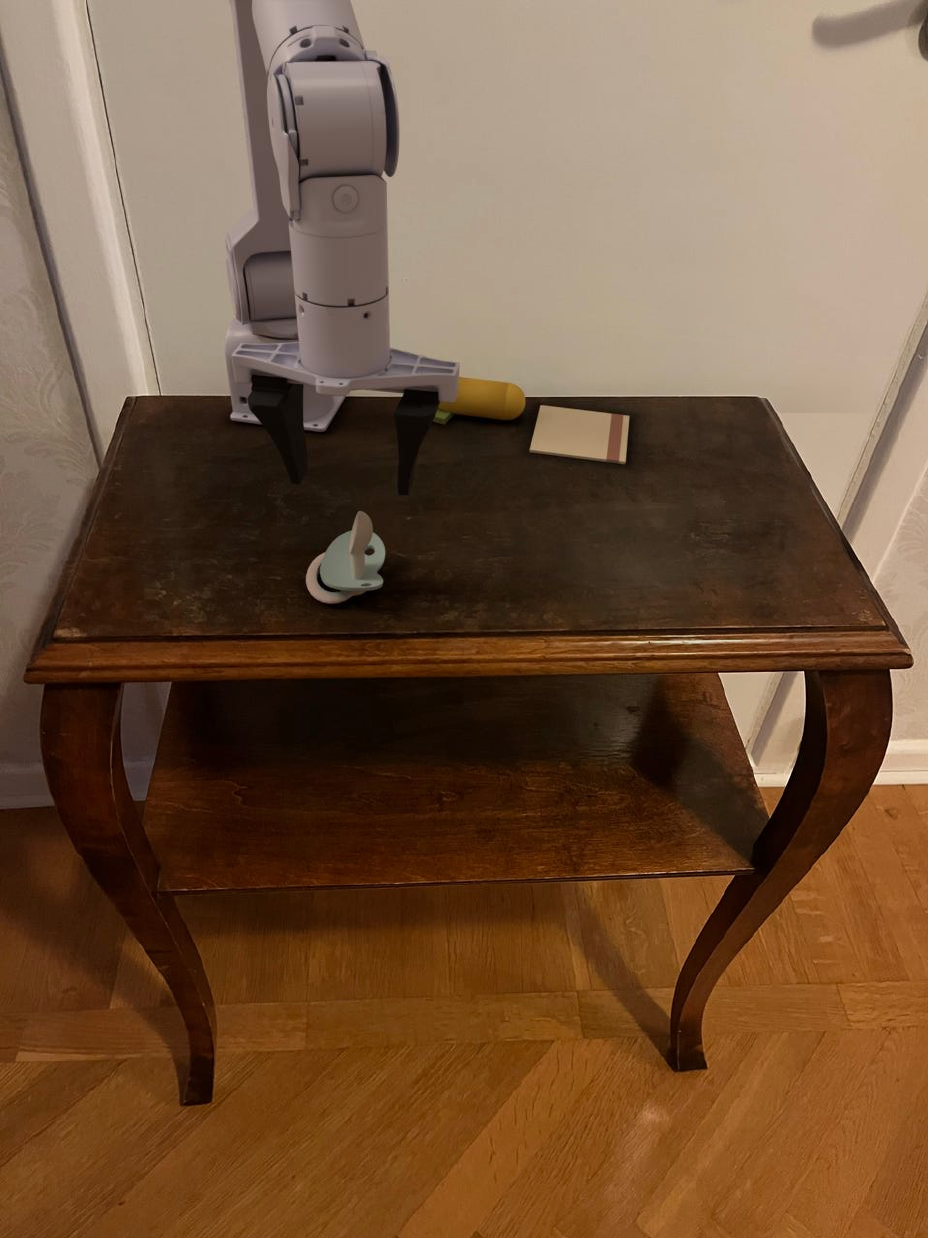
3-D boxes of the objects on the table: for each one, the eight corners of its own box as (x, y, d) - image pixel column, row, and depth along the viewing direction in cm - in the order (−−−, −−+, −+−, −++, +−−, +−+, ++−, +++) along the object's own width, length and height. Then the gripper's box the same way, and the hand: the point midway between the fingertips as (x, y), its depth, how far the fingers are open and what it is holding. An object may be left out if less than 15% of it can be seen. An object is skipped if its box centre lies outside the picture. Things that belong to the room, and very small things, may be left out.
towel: (529, 452, 85) (529, 449, 85) (540, 407, 92) (540, 404, 92) (625, 464, 84) (625, 461, 84) (629, 418, 91) (629, 415, 91)
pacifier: (301, 613, 67) (383, 612, 67) (291, 544, 63) (378, 544, 63) (312, 553, 72) (387, 552, 72) (303, 486, 68) (383, 486, 68)
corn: (409, 420, 89) (409, 386, 86) (422, 393, 93) (422, 360, 91) (520, 434, 88) (523, 400, 85) (527, 406, 92) (530, 373, 90)
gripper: (203, 303, 53) (234, 502, 61) (449, 325, 51) (445, 524, 60) (242, 263, 58) (265, 451, 67) (466, 281, 57) (460, 470, 66)
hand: (352, 482), depth 64 cm, fingers open, 7 cm apart
